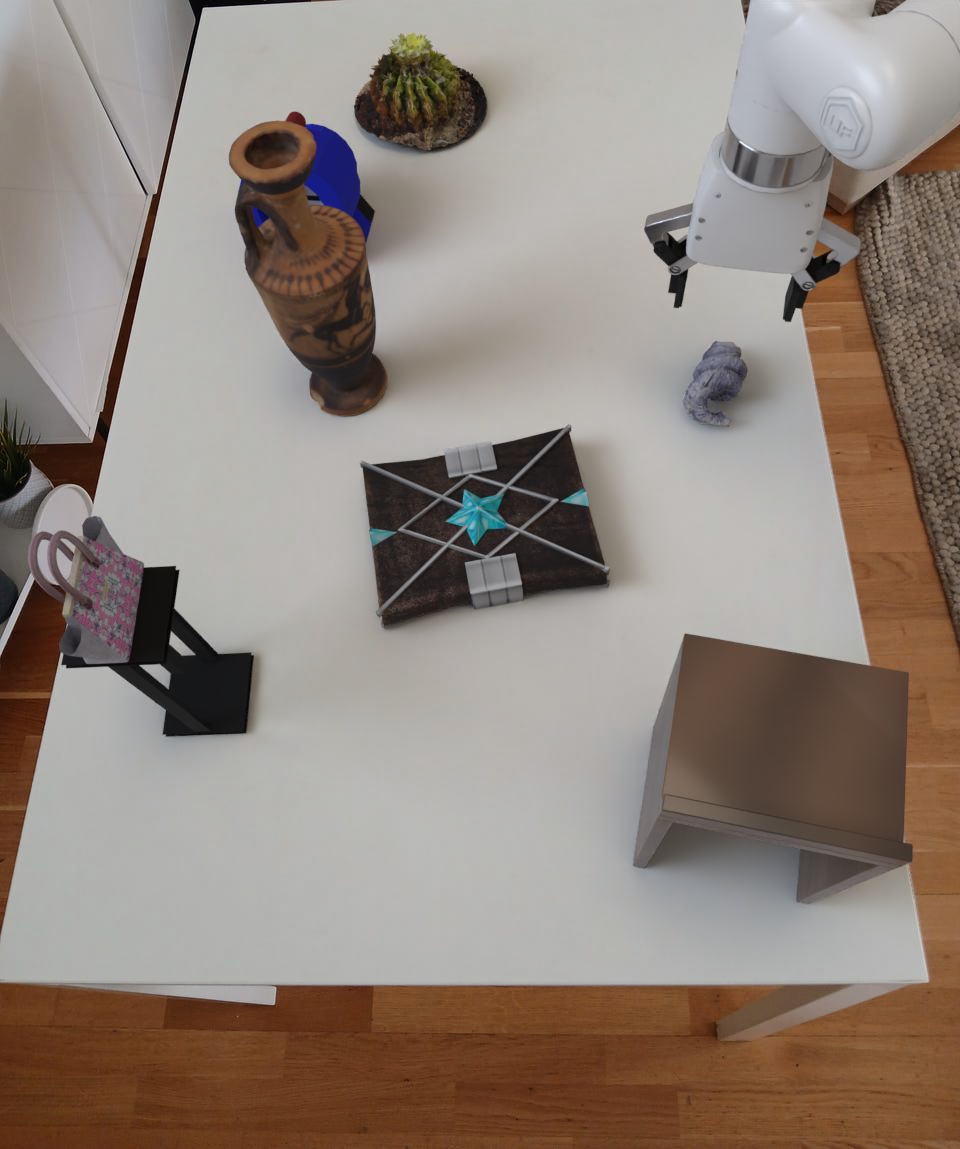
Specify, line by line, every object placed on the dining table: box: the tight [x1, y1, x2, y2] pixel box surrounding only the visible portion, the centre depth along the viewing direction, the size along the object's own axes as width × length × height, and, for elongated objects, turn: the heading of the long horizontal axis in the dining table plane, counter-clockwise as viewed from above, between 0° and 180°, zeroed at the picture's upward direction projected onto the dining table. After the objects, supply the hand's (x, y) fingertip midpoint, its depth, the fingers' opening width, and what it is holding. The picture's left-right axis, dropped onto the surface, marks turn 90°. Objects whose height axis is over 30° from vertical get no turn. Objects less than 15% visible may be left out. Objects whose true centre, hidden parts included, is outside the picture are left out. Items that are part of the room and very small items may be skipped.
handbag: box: [27, 515, 255, 738], centre depth 70 cm, size 10×8×30 cm
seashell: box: [682, 340, 749, 428], centre depth 91 cm, size 5×5×10 cm
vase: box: [228, 120, 388, 417], centre depth 84 cm, size 11×11×30 cm
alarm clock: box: [237, 111, 376, 243], centre depth 101 cm, size 12×12×15 cm
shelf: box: [632, 633, 914, 905], centre depth 65 cm, size 14×12×24 cm
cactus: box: [353, 32, 488, 151], centre depth 111 cm, size 17×16×10 cm
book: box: [359, 423, 611, 630], centre depth 87 cm, size 22×17×5 cm
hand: (732, 302), depth 82 cm, fingers open, 9 cm apart
